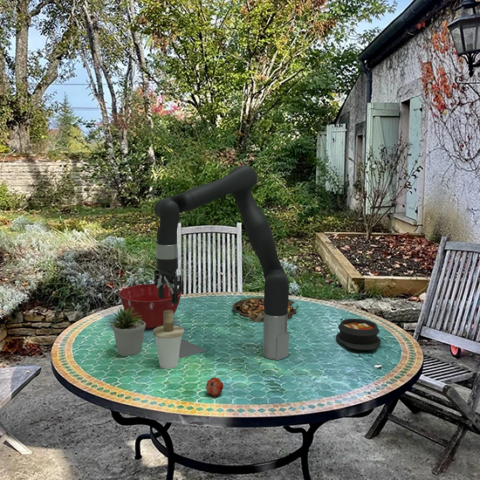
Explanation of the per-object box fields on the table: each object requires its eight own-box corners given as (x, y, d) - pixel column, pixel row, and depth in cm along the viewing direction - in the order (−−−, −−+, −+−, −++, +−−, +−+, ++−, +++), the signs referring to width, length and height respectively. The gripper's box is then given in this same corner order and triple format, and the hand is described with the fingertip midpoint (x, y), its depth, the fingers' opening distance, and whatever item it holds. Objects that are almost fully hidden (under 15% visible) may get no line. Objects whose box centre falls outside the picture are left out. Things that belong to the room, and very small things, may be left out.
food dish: (281, 330, 221) (281, 313, 219) (220, 318, 237) (219, 303, 236) (309, 308, 251) (310, 294, 249) (253, 299, 267) (253, 286, 266)
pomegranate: (209, 394, 159) (198, 388, 154) (217, 378, 161) (206, 371, 155) (222, 401, 156) (211, 395, 150) (230, 385, 158) (220, 378, 152)
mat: (206, 352, 190) (206, 350, 190) (181, 360, 182) (181, 358, 182) (183, 340, 202) (183, 339, 202) (158, 347, 194) (158, 345, 194)
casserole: (386, 355, 190) (387, 335, 189) (338, 353, 192) (339, 333, 190) (374, 333, 215) (376, 315, 213) (332, 331, 216) (333, 313, 215)
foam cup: (182, 361, 181) (182, 328, 179) (180, 372, 172) (180, 337, 169) (157, 361, 180) (157, 328, 178) (153, 372, 171) (153, 337, 169)
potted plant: (108, 349, 192) (107, 300, 188) (143, 345, 196) (142, 297, 193) (111, 361, 180) (110, 309, 177) (148, 356, 185) (147, 306, 182)
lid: (189, 333, 173) (189, 312, 172) (163, 340, 166) (163, 318, 165) (172, 325, 182) (172, 305, 180) (147, 332, 174) (147, 310, 173)
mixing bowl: (189, 330, 215) (189, 296, 212) (124, 337, 204) (123, 302, 202) (174, 312, 240) (173, 282, 238) (115, 317, 230) (114, 286, 228)
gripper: (187, 258, 167) (188, 303, 169) (165, 252, 177) (165, 294, 180) (169, 260, 162) (170, 307, 164) (147, 254, 172) (148, 298, 175)
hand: (167, 300), depth 172 cm, fingers open, 8 cm apart
